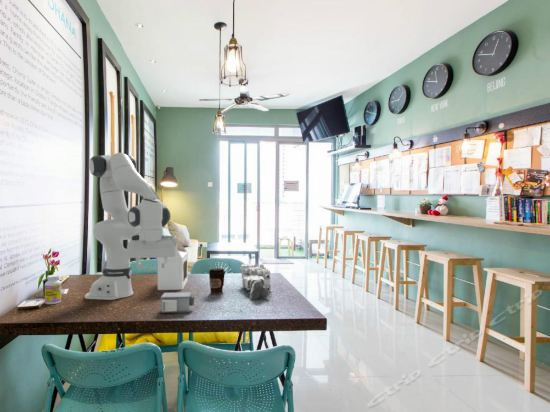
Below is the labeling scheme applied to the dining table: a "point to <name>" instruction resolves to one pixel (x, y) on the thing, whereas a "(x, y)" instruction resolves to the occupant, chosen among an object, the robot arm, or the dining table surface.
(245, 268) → the spaceship
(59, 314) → the dining table surface
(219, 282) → the coffee cup
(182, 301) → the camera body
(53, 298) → the supplement bottle
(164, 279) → the gable box
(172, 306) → the side door
